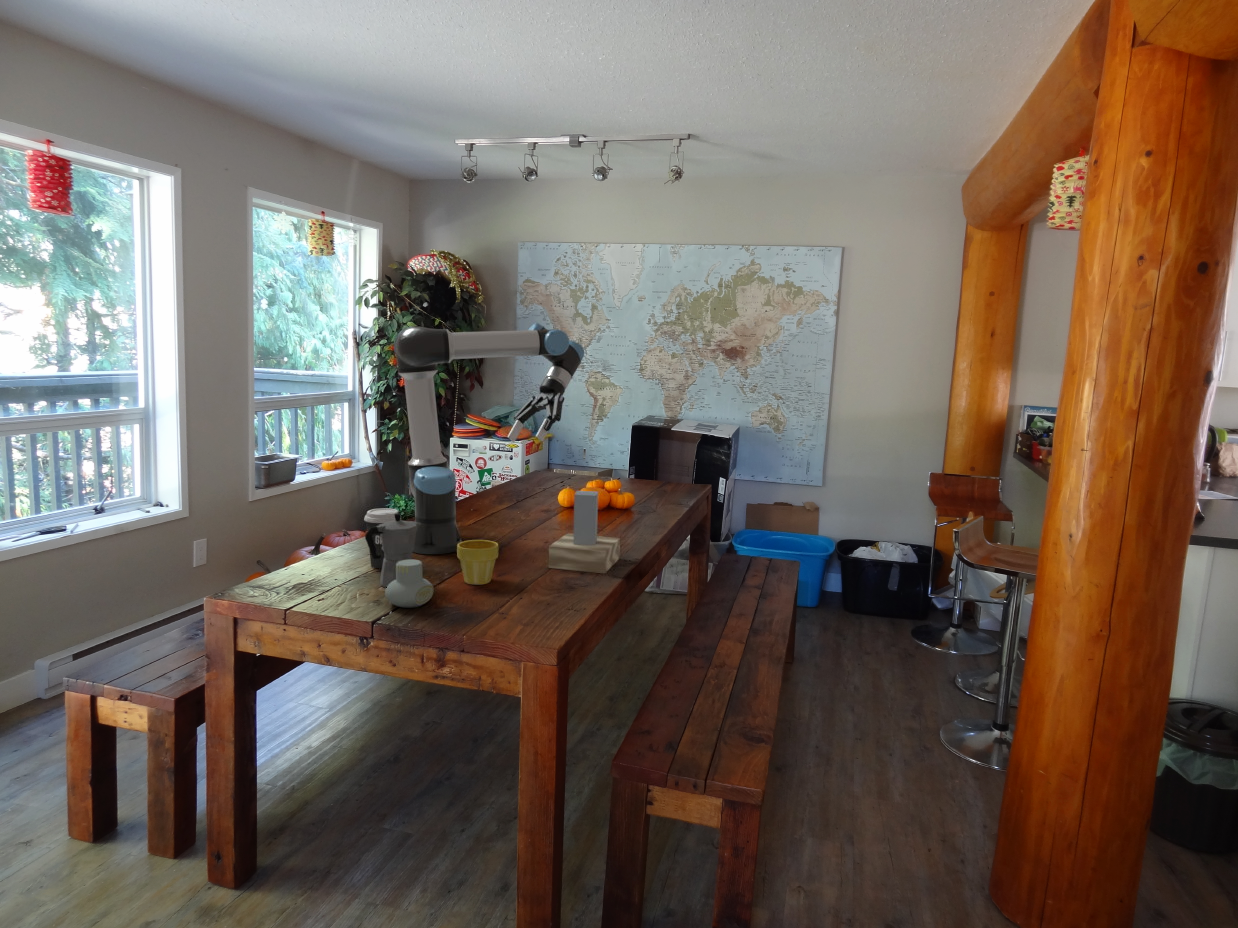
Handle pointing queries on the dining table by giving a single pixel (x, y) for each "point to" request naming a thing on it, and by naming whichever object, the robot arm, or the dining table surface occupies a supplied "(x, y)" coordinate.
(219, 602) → the dining table surface
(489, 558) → the plant pot
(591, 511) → the slate block
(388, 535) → the coffeepot
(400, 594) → the air freshener
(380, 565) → the coffee cup
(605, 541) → the birch block
